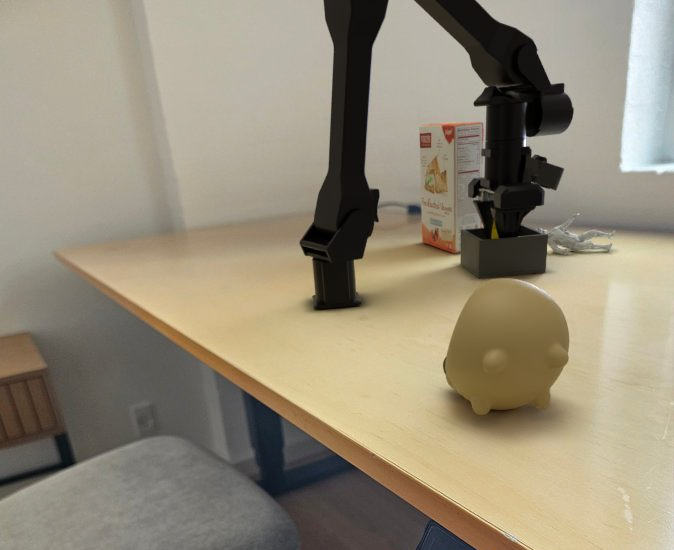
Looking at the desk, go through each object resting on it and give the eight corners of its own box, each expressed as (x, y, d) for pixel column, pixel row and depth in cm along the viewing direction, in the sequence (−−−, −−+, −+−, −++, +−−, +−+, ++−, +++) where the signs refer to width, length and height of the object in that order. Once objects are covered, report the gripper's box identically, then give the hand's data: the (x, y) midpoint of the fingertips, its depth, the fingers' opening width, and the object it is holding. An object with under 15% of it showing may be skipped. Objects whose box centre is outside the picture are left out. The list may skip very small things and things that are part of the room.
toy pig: (547, 433, 58) (521, 331, 62) (605, 367, 47) (569, 248, 51) (439, 443, 58) (420, 338, 61) (472, 378, 46) (445, 256, 50)
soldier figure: (608, 261, 106) (536, 240, 107) (597, 276, 111) (528, 256, 112) (619, 221, 108) (548, 200, 109) (608, 238, 113) (540, 218, 114)
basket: (545, 272, 98) (548, 234, 96) (478, 278, 98) (479, 240, 96) (521, 258, 108) (523, 224, 106) (460, 264, 108) (460, 229, 106)
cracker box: (420, 243, 128) (417, 124, 119) (448, 239, 129) (448, 121, 120) (452, 254, 116) (452, 122, 107) (482, 250, 117) (485, 119, 108)
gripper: (586, 136, 87) (575, 256, 94) (537, 134, 104) (531, 237, 111) (504, 143, 87) (499, 263, 93) (468, 140, 103) (466, 242, 110)
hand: (501, 250), depth 102 cm, fingers closed on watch, 6 cm apart
